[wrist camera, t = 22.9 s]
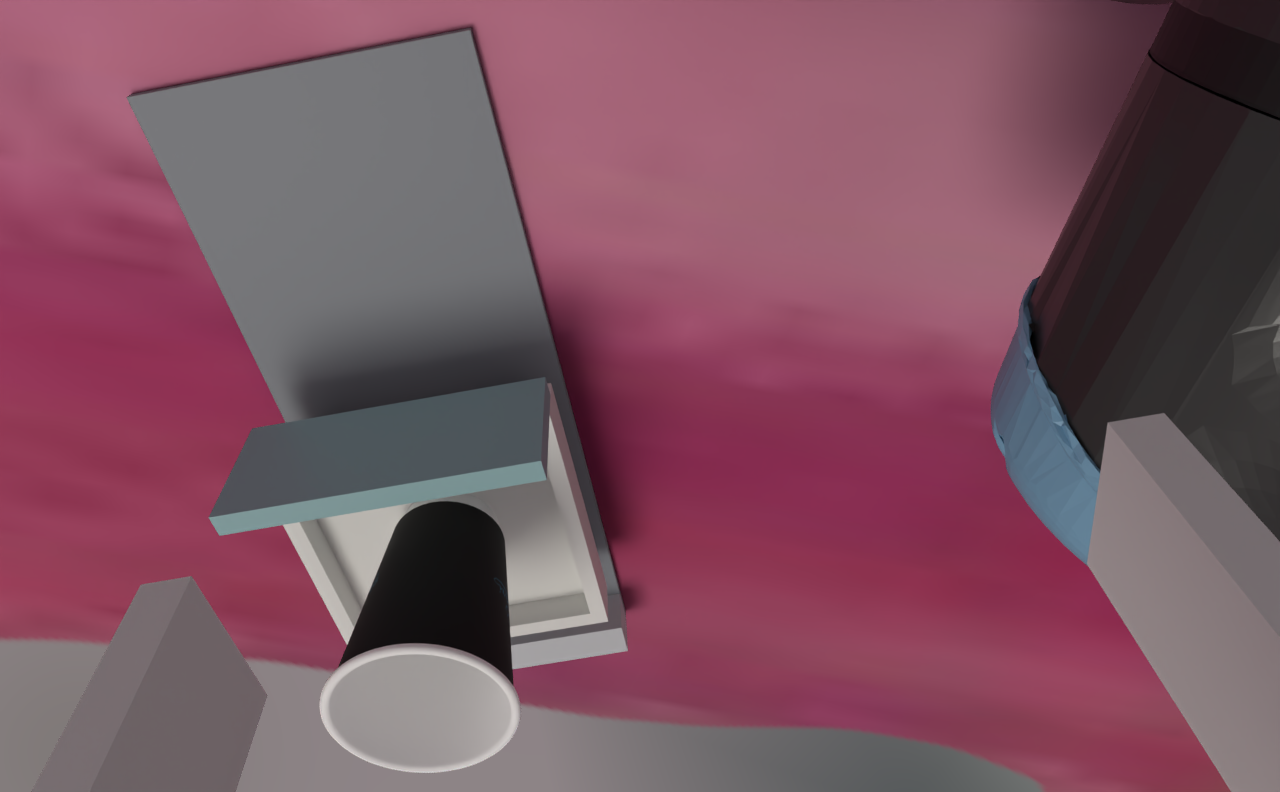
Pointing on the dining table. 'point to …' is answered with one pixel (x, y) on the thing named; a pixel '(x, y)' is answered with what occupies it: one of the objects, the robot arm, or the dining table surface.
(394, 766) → the dixie cup
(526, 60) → the dining table surface
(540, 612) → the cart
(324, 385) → the track
